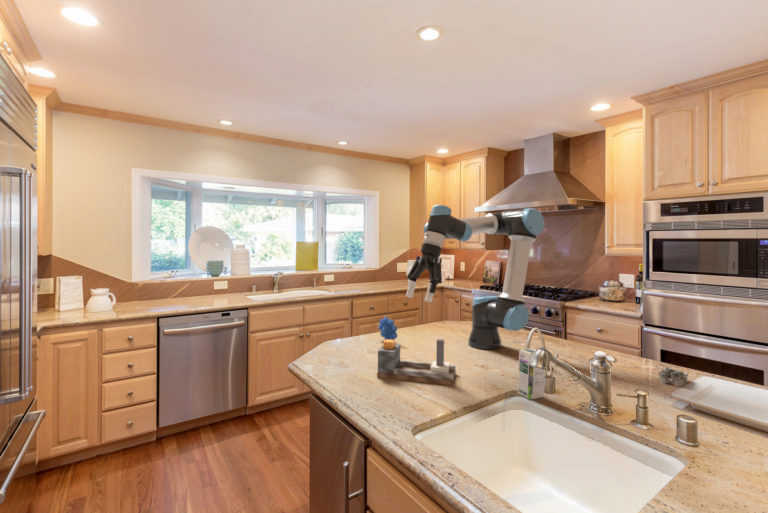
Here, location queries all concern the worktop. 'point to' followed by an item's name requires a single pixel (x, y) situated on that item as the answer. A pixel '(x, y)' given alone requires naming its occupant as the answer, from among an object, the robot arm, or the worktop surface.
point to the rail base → (409, 369)
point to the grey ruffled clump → (673, 376)
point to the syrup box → (529, 376)
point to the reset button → (389, 344)
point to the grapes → (388, 329)
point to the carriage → (440, 359)
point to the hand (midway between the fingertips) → (418, 299)
